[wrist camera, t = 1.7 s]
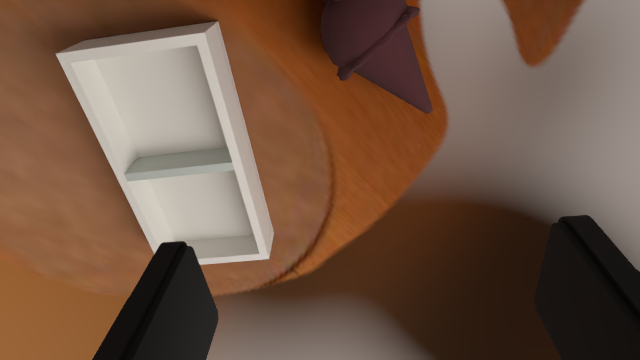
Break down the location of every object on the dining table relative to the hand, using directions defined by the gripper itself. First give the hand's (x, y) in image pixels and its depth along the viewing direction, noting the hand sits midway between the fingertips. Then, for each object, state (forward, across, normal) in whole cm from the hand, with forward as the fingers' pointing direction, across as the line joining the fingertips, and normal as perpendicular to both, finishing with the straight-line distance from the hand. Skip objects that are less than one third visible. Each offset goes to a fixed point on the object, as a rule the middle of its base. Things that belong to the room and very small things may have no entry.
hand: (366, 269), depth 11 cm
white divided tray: (+26, +16, +8) cm, 31 cm away
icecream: (+26, -2, -1) cm, 26 cm away
